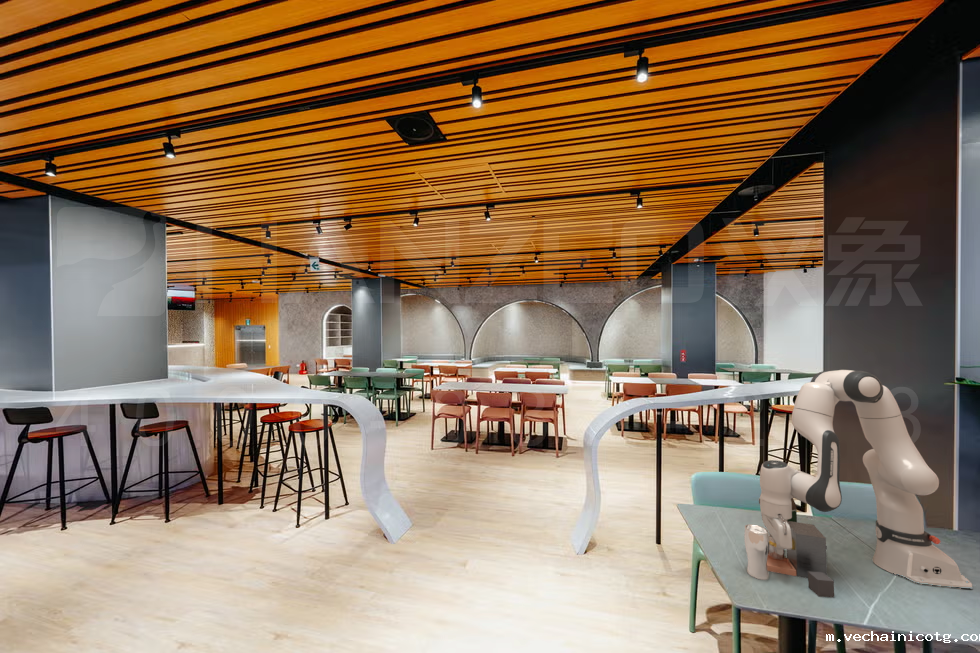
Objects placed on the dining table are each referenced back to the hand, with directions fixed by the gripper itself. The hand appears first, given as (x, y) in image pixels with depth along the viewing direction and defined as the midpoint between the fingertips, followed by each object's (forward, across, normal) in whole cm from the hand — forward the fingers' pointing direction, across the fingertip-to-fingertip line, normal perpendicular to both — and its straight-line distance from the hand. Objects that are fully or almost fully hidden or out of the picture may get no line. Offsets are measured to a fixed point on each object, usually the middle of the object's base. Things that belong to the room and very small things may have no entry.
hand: (776, 549), depth 133 cm
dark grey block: (+6, +1, -8) cm, 10 cm away
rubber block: (+6, -11, -8) cm, 15 cm away
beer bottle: (+6, +29, -10) cm, 31 cm away
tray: (+6, 0, 0) cm, 6 cm away
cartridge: (+2, 0, 0) cm, 2 cm away
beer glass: (+6, -8, +7) cm, 12 cm away
